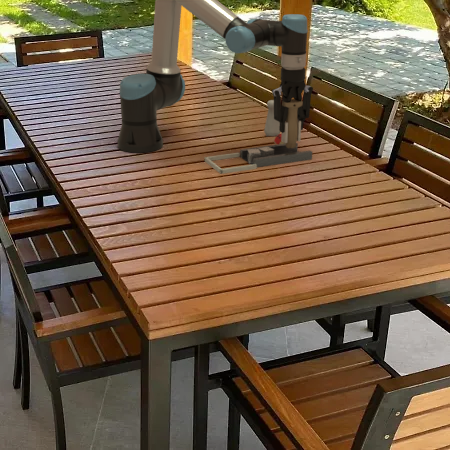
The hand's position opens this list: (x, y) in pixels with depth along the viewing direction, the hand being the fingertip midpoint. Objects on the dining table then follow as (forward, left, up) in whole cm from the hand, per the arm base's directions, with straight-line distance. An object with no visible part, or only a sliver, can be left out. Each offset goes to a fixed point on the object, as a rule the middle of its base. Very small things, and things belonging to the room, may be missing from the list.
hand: (290, 140), depth 228 cm
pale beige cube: (-9, 0, -5) cm, 10 cm away
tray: (-21, 0, -6) cm, 22 cm away
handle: (0, 0, -2) cm, 2 cm away
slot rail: (-5, 0, -6) cm, 8 cm away
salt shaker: (+6, +24, -6) cm, 26 cm away
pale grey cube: (-13, 0, -5) cm, 14 cm away
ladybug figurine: (+5, +14, -7) cm, 16 cm away
